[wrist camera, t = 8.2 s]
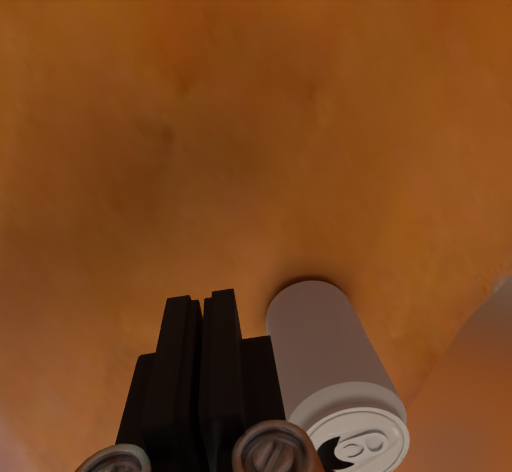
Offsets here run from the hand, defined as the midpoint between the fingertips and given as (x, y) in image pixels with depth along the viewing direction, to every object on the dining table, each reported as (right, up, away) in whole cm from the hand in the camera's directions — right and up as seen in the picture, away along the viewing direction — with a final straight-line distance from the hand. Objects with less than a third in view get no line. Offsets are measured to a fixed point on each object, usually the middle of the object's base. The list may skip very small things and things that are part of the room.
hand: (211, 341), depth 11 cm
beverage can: (+5, -3, +21) cm, 21 cm away
